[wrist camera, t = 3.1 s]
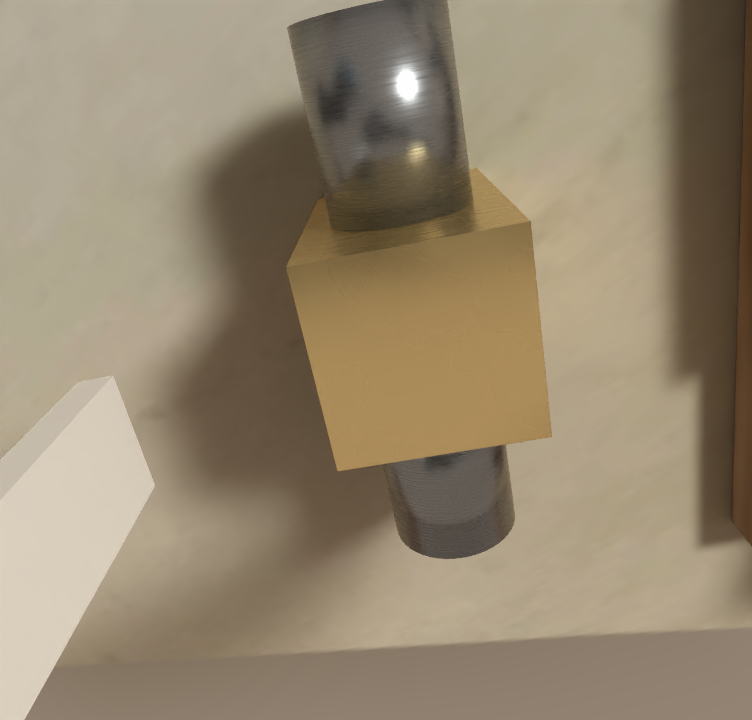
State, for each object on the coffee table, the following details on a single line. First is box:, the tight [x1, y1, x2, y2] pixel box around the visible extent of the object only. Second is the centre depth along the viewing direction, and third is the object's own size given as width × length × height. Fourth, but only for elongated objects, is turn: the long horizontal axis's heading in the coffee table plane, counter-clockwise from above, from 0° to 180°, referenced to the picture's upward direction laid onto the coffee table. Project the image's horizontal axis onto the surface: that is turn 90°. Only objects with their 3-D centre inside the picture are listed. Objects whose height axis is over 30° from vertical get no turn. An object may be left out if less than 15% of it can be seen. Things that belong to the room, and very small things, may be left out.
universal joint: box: [286, 0, 552, 559], centre depth 18 cm, size 5×14×8 cm, turn 11°
